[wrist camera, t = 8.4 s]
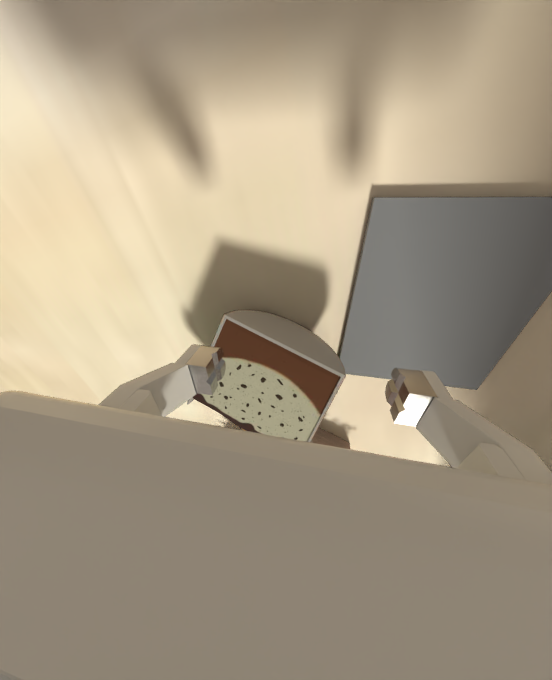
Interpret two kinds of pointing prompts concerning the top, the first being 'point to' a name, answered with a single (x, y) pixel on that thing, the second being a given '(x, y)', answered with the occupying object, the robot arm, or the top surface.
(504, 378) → the top surface
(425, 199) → the mat
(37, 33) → the top surface
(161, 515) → the robot arm
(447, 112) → the top surface
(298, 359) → the food container
